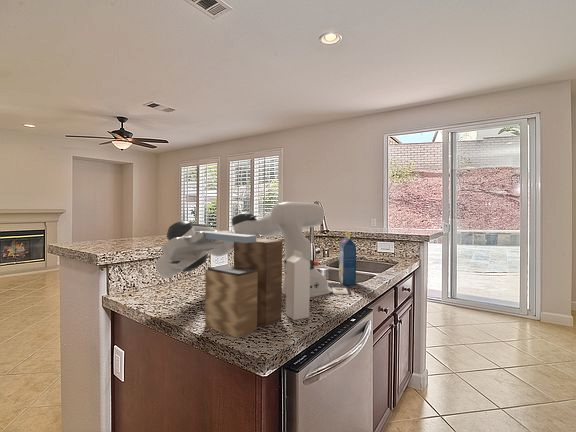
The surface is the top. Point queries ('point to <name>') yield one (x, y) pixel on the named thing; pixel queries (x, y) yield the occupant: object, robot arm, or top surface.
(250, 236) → the slat
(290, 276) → the milk
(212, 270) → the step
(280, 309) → the stand
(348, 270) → the blue food package
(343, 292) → the chocolate bar
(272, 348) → the top surface
